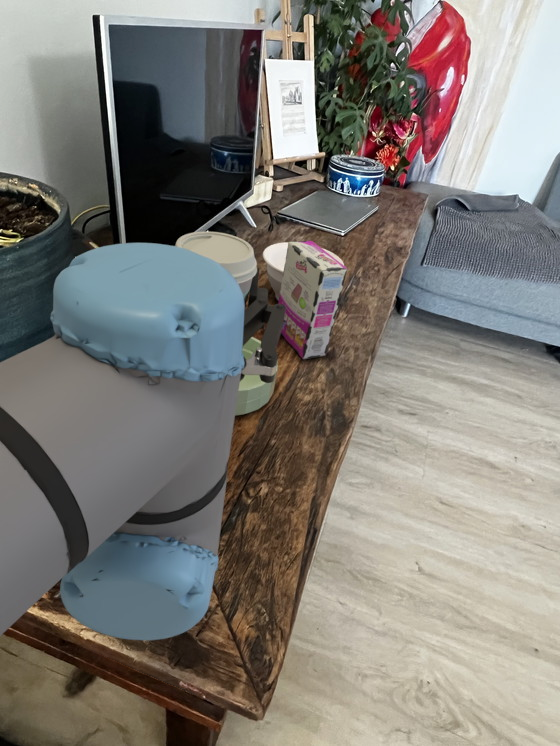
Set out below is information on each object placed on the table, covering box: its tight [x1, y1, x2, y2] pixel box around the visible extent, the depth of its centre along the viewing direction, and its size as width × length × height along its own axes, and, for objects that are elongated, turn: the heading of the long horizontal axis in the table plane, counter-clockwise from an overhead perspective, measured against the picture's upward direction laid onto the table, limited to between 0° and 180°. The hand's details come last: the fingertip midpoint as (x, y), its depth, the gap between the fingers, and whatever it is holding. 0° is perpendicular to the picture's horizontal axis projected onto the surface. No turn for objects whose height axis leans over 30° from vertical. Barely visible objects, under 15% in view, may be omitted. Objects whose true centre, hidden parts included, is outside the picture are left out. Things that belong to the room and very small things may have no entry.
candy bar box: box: [277, 240, 348, 360], centre depth 82 cm, size 11×5×16 cm, turn 27°
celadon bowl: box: [235, 336, 279, 417], centre depth 73 cm, size 15×15×5 cm
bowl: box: [262, 241, 345, 301], centre depth 98 cm, size 16×16×8 cm
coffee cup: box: [174, 231, 258, 310], centre depth 51 cm, size 8×8×12 cm
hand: (217, 273), depth 55 cm, fingers closed on coffee cup, 8 cm apart
